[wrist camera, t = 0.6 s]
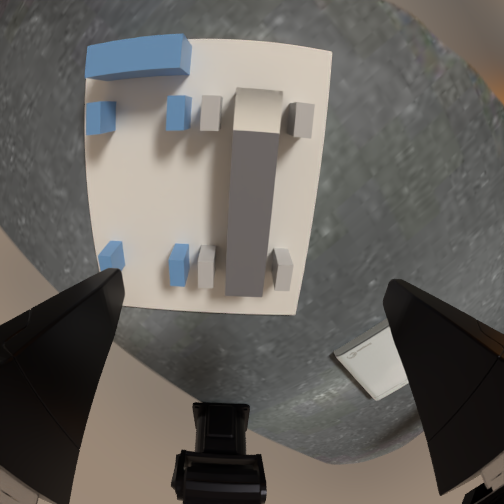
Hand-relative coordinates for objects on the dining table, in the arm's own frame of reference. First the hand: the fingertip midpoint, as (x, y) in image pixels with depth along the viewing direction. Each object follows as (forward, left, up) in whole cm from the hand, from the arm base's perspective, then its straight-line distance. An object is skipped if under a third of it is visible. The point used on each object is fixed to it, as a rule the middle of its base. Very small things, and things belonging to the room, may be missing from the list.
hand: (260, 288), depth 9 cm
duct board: (0, +3, -11) cm, 12 cm away
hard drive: (-17, -17, -12) cm, 27 cm away
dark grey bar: (0, 0, -11) cm, 11 cm away
